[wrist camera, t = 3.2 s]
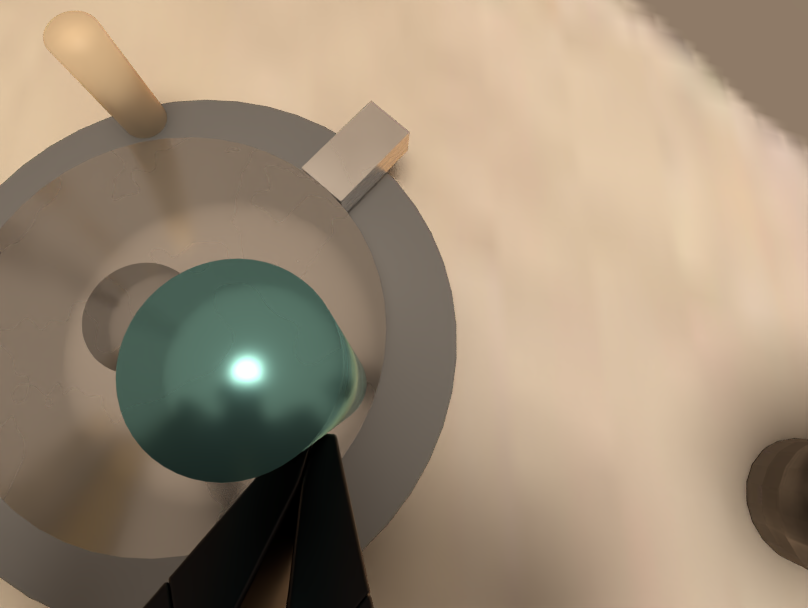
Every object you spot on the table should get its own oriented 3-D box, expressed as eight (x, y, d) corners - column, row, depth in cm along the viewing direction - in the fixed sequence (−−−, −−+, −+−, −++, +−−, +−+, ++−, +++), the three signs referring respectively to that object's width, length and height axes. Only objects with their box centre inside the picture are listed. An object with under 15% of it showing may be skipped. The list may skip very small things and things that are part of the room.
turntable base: (393, 660, 15) (400, 811, 9) (-138, 544, 15) (-436, 630, 9) (487, 177, 19) (531, 89, 13) (64, 80, 18) (-67, -49, 13)
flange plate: (410, 538, 14) (488, 901, 4) (-52, 549, 13) (-1371, 1026, 3) (407, 122, 17) (447, -273, 7) (27, 111, 16) (-546, -347, 6)
